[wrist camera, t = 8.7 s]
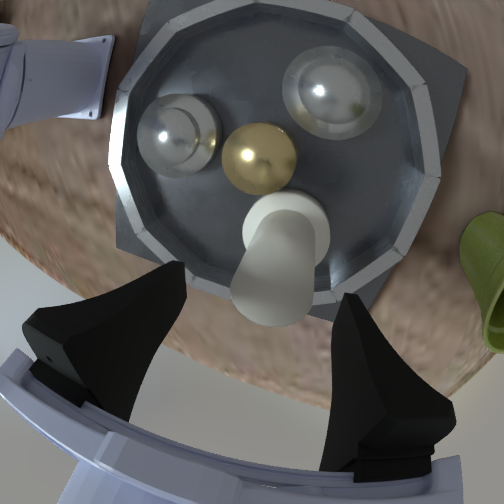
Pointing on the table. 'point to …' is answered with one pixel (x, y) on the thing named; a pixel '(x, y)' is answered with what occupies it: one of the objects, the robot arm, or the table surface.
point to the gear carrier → (278, 136)
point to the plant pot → (486, 273)
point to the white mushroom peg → (280, 258)
